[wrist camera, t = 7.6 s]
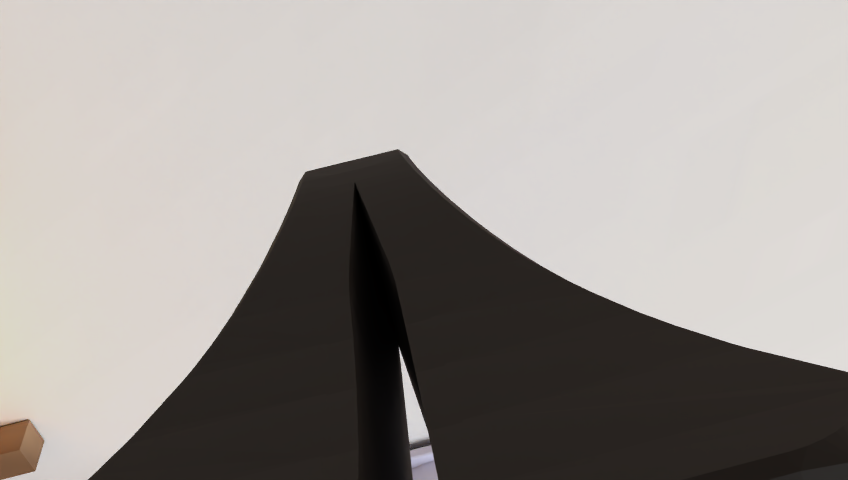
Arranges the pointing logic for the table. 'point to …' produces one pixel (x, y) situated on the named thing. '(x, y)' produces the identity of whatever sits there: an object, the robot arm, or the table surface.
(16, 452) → the bay
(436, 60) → the table surface
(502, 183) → the table surface
